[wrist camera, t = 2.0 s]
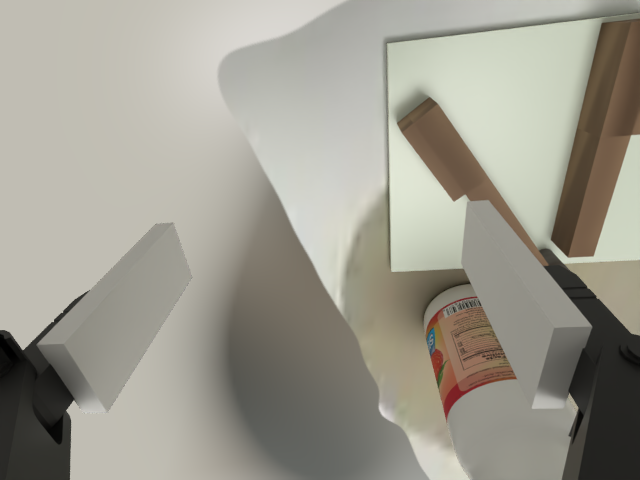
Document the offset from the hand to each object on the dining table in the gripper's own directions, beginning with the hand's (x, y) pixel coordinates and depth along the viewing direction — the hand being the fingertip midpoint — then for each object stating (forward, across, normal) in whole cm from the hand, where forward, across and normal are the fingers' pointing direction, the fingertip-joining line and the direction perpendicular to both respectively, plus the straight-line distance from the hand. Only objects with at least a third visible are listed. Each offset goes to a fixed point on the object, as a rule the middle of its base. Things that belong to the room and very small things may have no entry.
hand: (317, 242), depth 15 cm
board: (+18, -18, +4) cm, 26 cm away
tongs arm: (+17, -11, +6) cm, 21 cm away
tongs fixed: (+17, -20, +4) cm, 27 cm away
